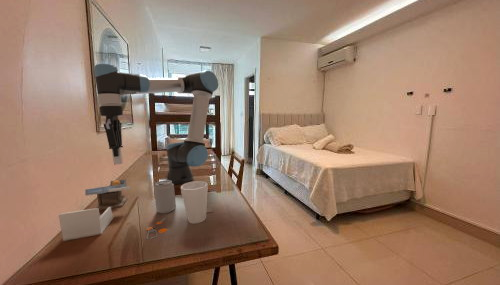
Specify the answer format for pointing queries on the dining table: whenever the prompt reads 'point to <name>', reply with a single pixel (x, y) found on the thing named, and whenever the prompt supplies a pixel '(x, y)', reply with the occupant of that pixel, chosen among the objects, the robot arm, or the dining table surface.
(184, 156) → the robot arm
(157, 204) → the can
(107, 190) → the lever
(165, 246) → the dining table surface
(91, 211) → the white rectangular box
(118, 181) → the ball
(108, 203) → the fulcrum
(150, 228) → the key chain
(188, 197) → the foam cup
